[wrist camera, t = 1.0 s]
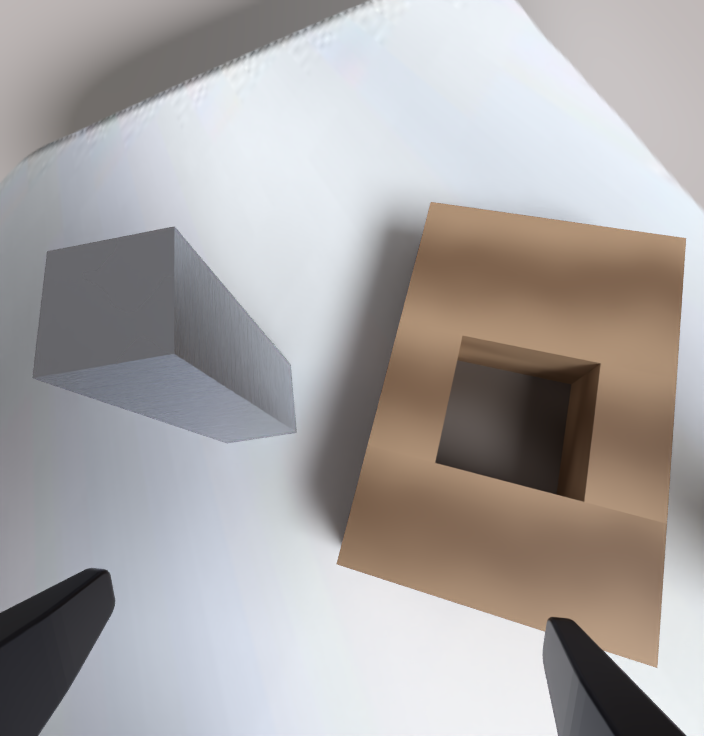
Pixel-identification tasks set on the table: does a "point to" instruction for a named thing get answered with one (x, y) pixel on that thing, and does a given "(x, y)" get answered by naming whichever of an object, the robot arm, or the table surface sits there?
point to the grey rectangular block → (160, 339)
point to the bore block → (529, 425)
